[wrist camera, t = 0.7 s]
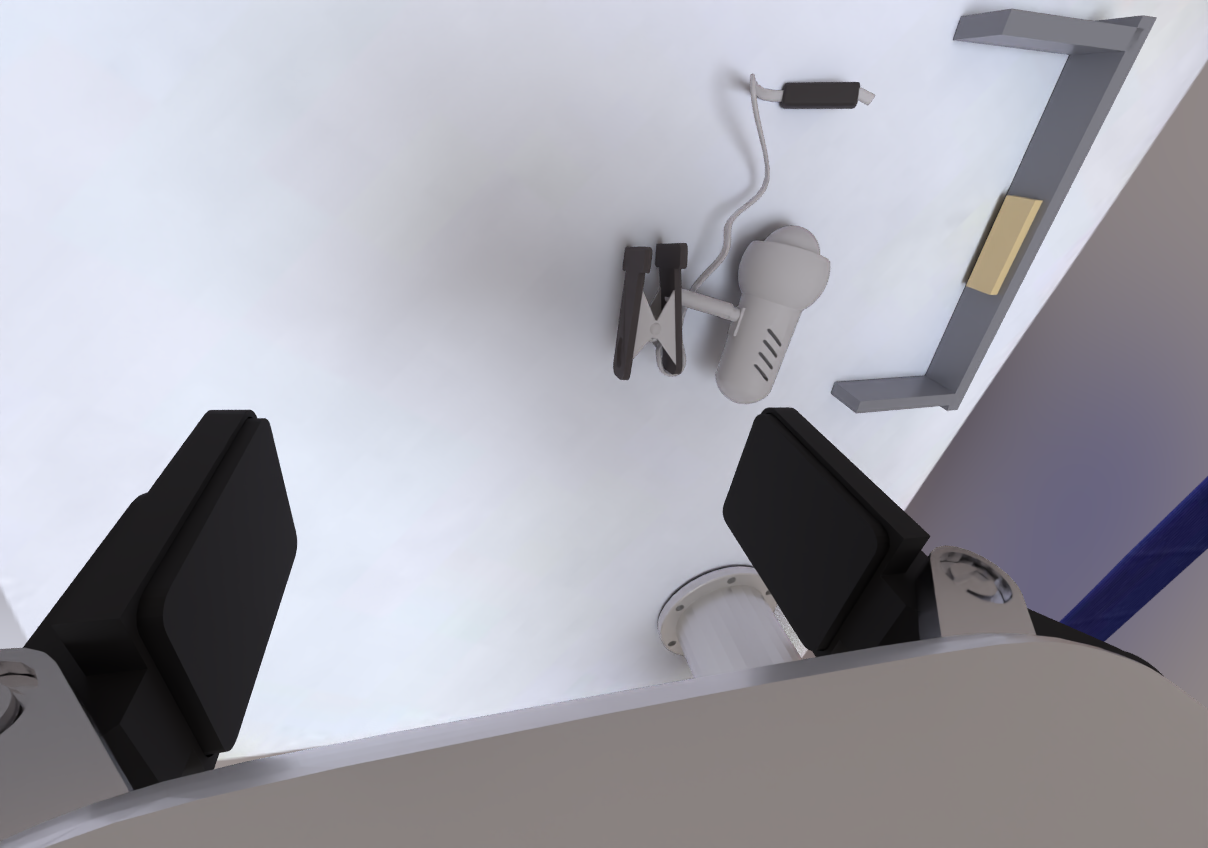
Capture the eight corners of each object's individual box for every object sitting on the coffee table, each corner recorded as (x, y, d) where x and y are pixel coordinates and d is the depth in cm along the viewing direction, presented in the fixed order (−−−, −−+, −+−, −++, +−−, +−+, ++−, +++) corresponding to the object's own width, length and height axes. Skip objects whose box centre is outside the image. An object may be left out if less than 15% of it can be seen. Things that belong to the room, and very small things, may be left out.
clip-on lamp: (678, 43, 27) (590, 363, 32) (732, -15, 21) (614, 388, 26) (852, 123, 30) (749, 402, 35) (939, 93, 25) (803, 432, 29)
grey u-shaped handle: (927, 391, 42) (957, 409, 39) (828, 399, 39) (853, 419, 37) (1097, 24, 29) (1156, 17, 26) (965, 4, 27) (1017, -5, 24)
